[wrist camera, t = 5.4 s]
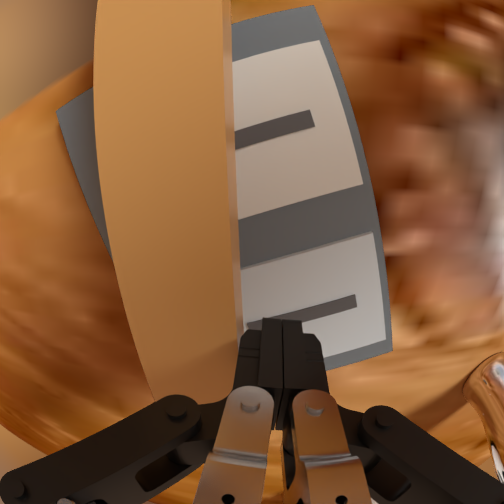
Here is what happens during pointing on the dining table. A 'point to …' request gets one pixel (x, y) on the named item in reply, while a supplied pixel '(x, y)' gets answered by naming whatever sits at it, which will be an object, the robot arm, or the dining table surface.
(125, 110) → the swing bar
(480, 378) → the beer glass
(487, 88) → the dining table surface
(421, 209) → the dining table surface
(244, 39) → the label board
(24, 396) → the dining table surface
